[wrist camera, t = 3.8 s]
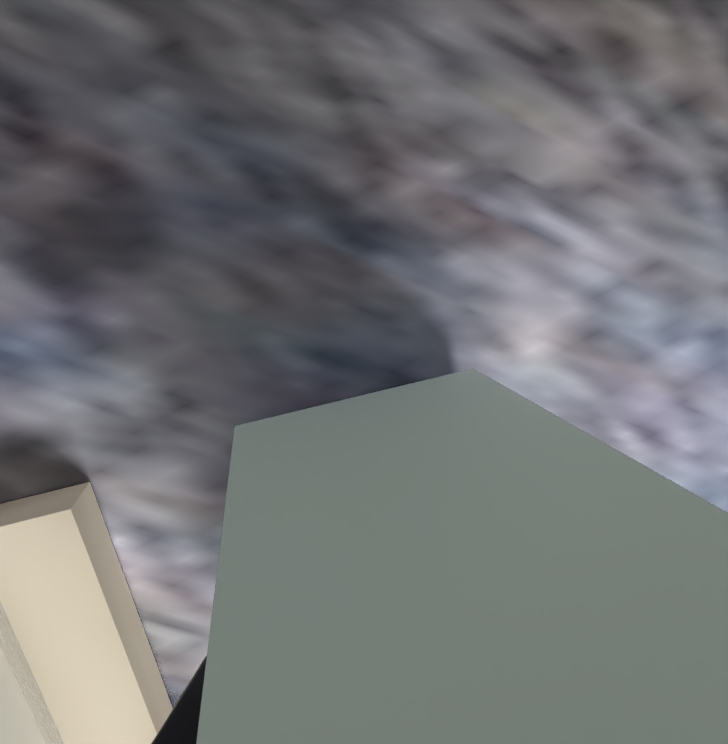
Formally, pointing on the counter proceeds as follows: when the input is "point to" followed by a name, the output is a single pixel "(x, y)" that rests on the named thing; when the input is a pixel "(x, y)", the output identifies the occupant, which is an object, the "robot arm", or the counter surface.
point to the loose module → (460, 581)
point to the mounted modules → (15, 710)
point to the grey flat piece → (27, 681)
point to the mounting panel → (78, 620)
